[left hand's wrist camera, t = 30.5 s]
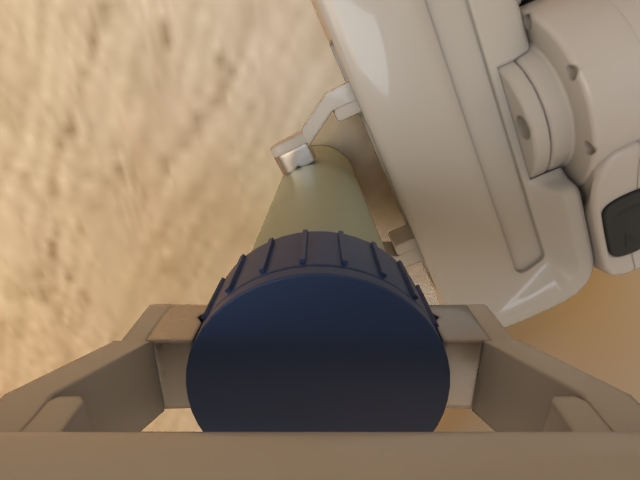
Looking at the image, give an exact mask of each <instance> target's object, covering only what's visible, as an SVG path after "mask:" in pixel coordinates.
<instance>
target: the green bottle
mask: <svg viewBox="0 0 640 480" xmlns="http://www.w3.org/2000/svg"><path fill="white" fill-rule="evenodd" d="M312 148H313V150H314V153H315V155H316V158H315V159H316V160H315V162H313V163H311V164H309V165H306V166H303V167H299V166H298V167H297V168H296V170H295V171H293V172H292V173H290V174H288V175H283V178H282V180H281V182H280V185H279V187H278V190H277V192H276V195H275V197H274V199H273V202H272V204H271V207H270V209H269V211H268V214H267V216H266V219H265V221H264V223H263V226H262V228H261V231H260V233H259V235H258V238H257V240H256V243H255V245H254V247H253V250H255V249H256V248H258V247H260V246H262V245H263V244H265V243H267V242H268V240H269V239H270V238H272V237H273V238H274V239H277V238H280V237H282V236H286V235H290V234H295V233H300V232H303V230H304V229H307V230H308V232H309V231H328V232H336V233H338V231H339V230H340V231H343V233H344V234H346V235H350V236H354V237H357V238H360V239H362V240H365V241H367V242H370V243H371V242H372V241H374V242H376V244H377V247H379V248H380V249H382V250H384V251H385V248H384V246H383V243H382V241H381V238H380V236H379V233H378V231H377V228H376V226H375V223H374V221H373V218H372V216H371V213H370V211H369V208H368V206H367V203H366V200H365V198H364V195H363V193H362V190H361V188H360V185H359V183H358V180H357V178H356V175H355V173H354V170H353V168H352V166H351V164H350V162H349V160H348V159H347V158H346V157H345V156H344V155H343V154H342V153H341V152H340V151H338V150H336V149H334V148H332V147H328V146H322V145H316V146H312ZM253 250H252V251H253ZM385 252H386V251H385Z"/></svg>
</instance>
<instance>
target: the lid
mask: <svg viewBox="0 0 640 480" xmlns="http://www.w3.org/2000/svg"><path fill="white" fill-rule="evenodd" d="M201 319H203V322H202V326H201V328H200V330H199V332H198V334H197V336H196V338H195V340H194V343H193V345H192V348H191V351H190V353H189V357H188V362H187V367H186V388H187V396H188V400H189V404H190V407H191V410H192V413H193V415H194V417H195V419H196V421H197V423H198V425H199V426H200V428H201V429H202V431H203V432H433V431H434V430H435V428H436V427H437V425H438V423H439V421H440V419H441V417H442V415H443V413H444V410H445V407H446V404H447V401H448V396H449V390H450V368H449V362H448V357H447V354H446V351H445V348H444V345H443V343H442V341H441V339H440V337H439V335H438V332H437V330H436V328H438V327H439V325H438V323H437V321H436V319H435V317H434V315H433V313H432V311H431V309H430V307H429V305H428V303H427V301H426V299H425V297H424V295H423V292H422V290H421V288H420V286H419V285H416V286H415V285H414V283H413V281H412V279H411V277H410V276H409V275H408V273H407V271H406V269H405V267H404V265H403V262H402V261H401V260H399V261H398V262H397V261H396V260H395V259H394V258H393V257H392V256H390V255H389V254H388V253H386V252H385V251H384V250H382V249H380V248H379V247H377V244H376V242H374V241H372V242H371V243H370V242H367V241H365V240H362V239H360V238H357V237H354V236H350V235H346V234H344V233H343V231H340V230H339V231H338V233H336V232H328V231H309V232H308V230H307V229H304V230H303V232H300V233H295V234H290V235H286V236H282V237H280V238H277V239H274V238H273V237H272V238H270V239H269V240H268V242H267V243H265V244H263V245H262V246H260V247H258V248H256V249H255V250H253V251H252V252H250V253H249V254H248V255H246V256H245V255H244V254H243V255H242V256H241V257H240V259H239V261H238V263H237V265H235V267H234V268H233V269H232V270H231V272H230V273H229V274H228V276H227V277H226V279H224V278H222V279H221V280H220V282H219V284H218V286H217V288H216V290H215V292H214V294H213V296H212V298H211V300H210V302H209V304H208V306H207V308H206V310H205V312H204V314H203V316H202V317H201Z"/></svg>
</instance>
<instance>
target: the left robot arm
mask: <svg viewBox="0 0 640 480" xmlns="http://www.w3.org/2000/svg"><path fill="white" fill-rule="evenodd" d="M207 306H208V305H179V304H174V305H172V304H153V305H150V306H149V307H148V308H147V309H146V310H145V312H144V313H143V314H142V316H141V317H140V318H139V319H138V321H137V322H136V323H135V324H134V326H133V327H132V328H131V329H130V331H129V332H128V333H127V335H126V336H125V337H124V338H123V340H122V341H114V342H112V343H110V344H108V345H106V346H104V347H102V348H99V349H97V350H95V351H93V352H91V353H89V354H87V355H85V356H83V357H81V358H79V359H77V360H75V361H73V362H71V363H69V364H67V365H65V366H63V367H61V368H58V369H56V370H54V371H52V372H50V373H48V374H46V375H44V376H42V377H40V378H38V379H36V380H34V381H32V382H30V383H28V384H26V385H24V386H22V387H20V388H17V389H15V390H13V391H11V392H9V393H7V394H5V395H4V396H3V397H2V398H1V399H0V480H640V404H639V403H638V402H637V401H636V400H635V399H634V398H633V397H632V396H631V395H629V394H627V393H625V392H623V391H621V390H619V389H617V388H615V387H613V386H611V385H609V384H607V383H605V382H603V381H601V380H599V379H597V378H595V377H593V376H591V375H589V374H587V373H585V372H583V371H581V370H579V369H577V368H575V367H573V366H570V365H569V364H567V363H564V362H562V361H560V360H558V359H556V358H554V357H552V356H550V355H548V354H546V353H544V352H542V351H540V350H538V349H536V348H534V347H532V346H530V345H528V344H526V343H524V342H522V341H514V340H513V339H512V337H511V336H510V335H509V333H508V332H507V331H506V330H505V328H504V327H503V326H502V324H501V323H500V322H499V321H498V319H497V318H496V317H495V315H494V314H493V313H492V311H491V310H490V309H489V308H488V306H487V305H484V304H469V305H429V307H430V309H431V311H432V313H433V315H434V317H435V319H436V321H437V323H438V325H439V327H438V328H436V330H437V332H438V335H439V337H440V339H441V341H442V343H443V345H444V348H445V351H446V354H447V357H448V362H449V368H450V390H449V396H448V401H447V404H446V407H445V408H467V409H472V411H473V412H474V413H475V414H477V415H478V416H479V417H480V418H481V419H482V420H483V421H484V422H486V423H487V424H488V425H489V426H490V427H491V428H492V429H493V430H494V431H496V432H141V431H142V430H143V429H144V428H145V427H146V426H147V425H148V424H150V423H151V422H152V421H153V420H154V419H155V418H156V417H158V416H159V415H160V414H161V413H162V412H163V411H164V409H169V408H191V407H190V404H189V400H188V396H187V388H186V367H187V362H188V357H189V353H190V351H191V348H192V345H193V343H194V340H195V338H196V336H197V334H198V332H199V330H200V328H201V326H202V322H203V319H201V317H202V316H203V314H204V312H205V310H206V308H207Z"/></svg>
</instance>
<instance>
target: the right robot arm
mask: <svg viewBox="0 0 640 480" xmlns="http://www.w3.org/2000/svg"><path fill="white" fill-rule="evenodd" d="M311 1H312V4H313V6H314V8H315V11H316V13H317V15H318V18H319V20H320V23H321V25H322V27H323V30H324V32H325V34H326V37H327V39H328V41H329V44H330V46H331V49H332V51H333V53H334V56H335V58H336V60H337V63H338V65H339V67H340V70H341V72H342V74H343V77H344V79H345V82H346V83H344V84H342V85H340V86H338V87H336V88H334V89H333V90H331V91H329V92H327V93H325V94H324V95H323V97H322V98H321V100H320V101H319V103H318V105H317V106H316V108H315V109H314V111H313V112H312V114H311V115H310V117H309V118H308V120H307V121H306V123H305V125H304V126H303V128H302V130H301V131H300V132H298V133H296V134H294V135H292V136H290V137H288V138H285V139H283V140H281V141H280V142H278V143H276V144H275V145H273V146H272V147H271V148H270V150H271V152H272V154H273V156H274V158H275V160H276V162H277V164H278V165H279V167H280V169H281V171H282V173H283V175H288V174H290V173H292V172H293V171H295V170H296V168H297V167H298V166H299V167H303V166H306V165H309V164H311V163H313V162H315V160H316V159H315V158H316V155H315V153H314V150H313V148H312V146H311V142H312V141H313V139H314V138H315V136H316V135H317V133H318V132H319V130H320V129H321V127H322V126H323V124H324V123H325V121H326V120H327V118H328V117H329V115H330V114H331V112H332V111H333V112H334V114H335V116H336V118H337V120H338V121H343V120H345V119H347V118H349V117H351V116H353V115H355V114H357V113H359V115H360V117H361V119H362V122H363V124H364V126H365V129H366V131H367V133H368V136H369V138H370V141H371V143H372V145H373V148H374V150H375V152H376V155H377V157H378V159H379V162H380V164H381V166H382V169H383V171H384V174H385V176H386V178H387V181H388V183H389V185H390V188H391V190H392V192H393V195H394V197H395V199H396V202H397V204H398V207H399V209H400V211H401V214H402V216H403V218H404V221H405V223H406V225H404V226H402V227H400V228H397V229H395V230H393V231H391V232H389V234H388V235H389V238H390V240H391V242H382V243H383V246H384V248H385V251H386V253H388V254H389V255H390V256H392V257H393V258H394V259H395V260H396V261H397V262H398V261H399V260H401V261H402V262H403V265H404V267H405V268H406V267H408V266H411V265H413V264H416V263H418V262H420V261H422V263H423V266H424V268H425V270H426V273H427V275H428V277H429V280H430V282H431V284H432V287H433V289H434V291H435V294H436V296H437V298H438V301H439V303H440V305H469V304H484V305H487V306H488V308H489V309H490V310H491V311H492V313H493V314H494V315H495V317H496V318H497V319H498V321H499V322H500V323H501V324H502V326H503V327H504V328H505V327H507V326H510V325H513V324H515V323H518V322H520V321H523V320H525V319H527V318H530V317H532V316H534V315H537V314H539V313H541V312H543V311H545V310H548V309H550V308H552V307H554V306H556V305H558V304H560V303H562V302H564V301H565V300H567V299H569V298H570V297H572V296H573V295H575V294H576V293H577V292H578V291H580V290H581V289H582V288H583V287H584V285H585V284H586V283H587V281H588V280H589V278H590V276H591V274H592V270H593V266H594V267H596V268H598V269H600V270H602V271H604V272H606V273H608V274H610V275H621V274H625V273H628V272H631V271H633V270H636V269H638V268H640V0H311ZM520 3H521V4H520Z"/></svg>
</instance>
